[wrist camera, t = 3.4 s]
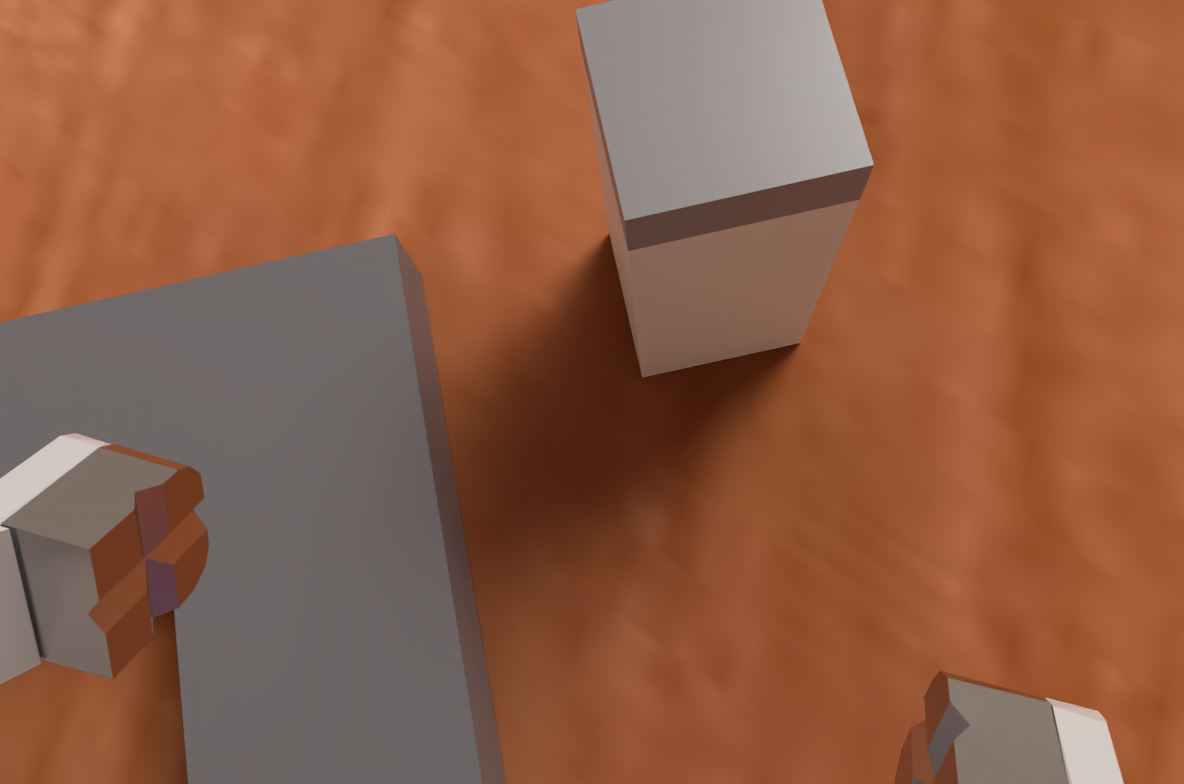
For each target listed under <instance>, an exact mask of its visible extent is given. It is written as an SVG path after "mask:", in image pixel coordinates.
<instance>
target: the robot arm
mask: <svg viewBox="0 0 1184 784" xmlns="http://www.w3.org/2000/svg"><path fill="white" fill-rule="evenodd" d="M203 499H204V492H203V485H202V478H201V474H200V473H199V472H197V471H196V470H195V469H193V468H192V467H190V466H186V465H183V464H180V463H176V462H173V461H170V460H166V459H163V458H160V457H156V456H153V455H150V454H146V453H143V452H140V451H136V450H133V449H130V448H126V447H123V446H120V445H116V444H109V443H106V442H103V441H99V440H96V439H93V438H90V437H86V436H83V435H80V434H77V433H74V434H68V435H62V436H59V437H58V438H56V439H55V440H53V441H52V442H51V443H49V444H48V445H46V446H45V447H44V448H42V449H41V450H40V451H38V452H37V453H35V454H34V455H33V456H31V457H30V458H28V459H27V460H26V461H24V462H23V463H21V464H20V465H19V466H17V467H16V468H14V469H13V470H12V471H10V472H9V473H7V474H6V475H5V476H3V477H2V478H0V684H2V683H4V682H6V681H8V680H10V679H12V678H14V677H16V676H18V675H20V674H22V673H24V672H26V671H28V670H30V669H32V668H34V667H35V666H37V665H39V664H41V659H42V660H45V661H49V662H53V663H56V664H60V665H63V666H67V667H70V668H74V669H78V670H81V671H85V672H88V673H92V674H96V675H99V676H103V677H106V678H110V679H114V678H115V677H116V676H117V675H118V674H119V673H120V672H121V670H122V669H123V668H124V667H125V666H126V665H127V664H128V663H129V662H130V661H131V660H132V658H133V657H134V656H135V655H136V654H137V653H138V652H139V651H140V650H141V649H142V648H143V646H144V645H145V644H146V643H147V642H148V641H149V640H150V639H151V638H152V637H153V618H155V617H157V616H160V615H162V614H165V613H167V612H170V611H172V610H175V609H177V608H179V607H180V606H181V605H182V603H183V602H184V601H185V600H186V599H187V598H188V596H189V595H190V594H191V593H192V592H193V591H194V589H195V587H196V585H197V583H198V581H199V579H200V577H201V575H202V573H203V571H204V568H205V566H206V561H207V555H208V549H209V541H208V529H207V528H206V526H205V525H204V523H203V522H202V521H201V519H200V518H199V517H198V515H197V514H196V512H195V511H194V509H195V508H196V507H197V505H198V504H199V503H200V502H201V501H202V500H203ZM924 699H925V717H926V720H925V721H923V722H920V723H918V724H916V725H914V726H912V727H911V728H910V730H909V733H908V735H907V738H906V740H905V743H904V745H903V748H902V750H901V754H900V758H899V763H898V767H897V771H896V776H895V784H1124V782H1123V778H1122V775H1121V771H1120V768H1119V764H1118V761H1117V757H1116V754H1115V750H1114V747H1113V743H1112V740H1111V736H1110V733H1109V729H1108V726H1107V722H1106V720H1105V719H1104V717H1103V716H1102V715H1101V714H1100V713H1099V712H1098V711H1096V710H1092V709H1088V708H1084V707H1080V706H1076V705H1072V704H1068V703H1064V702H1060V701H1056V700H1053V699H1049V698H1043V699H1042V698H1040V697H1038V696H1034V695H1030V694H1027V693H1023V692H1019V691H1015V690H1012V689H1008V688H1004V687H1000V686H996V685H993V684H989V683H985V682H981V681H978V680H974V679H970V678H966V677H962V676H959V675H955V674H951V673H947V672H943V671H940V672H939V673H938V674H937V675H936V676H935V677H934V678H933V680H932V682H931V684H930V686H929V688H928V690H927V692H926V695H925V697H924Z"/></svg>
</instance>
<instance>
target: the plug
mask: <svg viewBox="0 0 1184 784" xmlns="http://www.w3.org/2000/svg"><path fill="white" fill-rule="evenodd" d="M575 12H576V18H577V25H578V31H579V38H580V45H581V51H582V58H583V64H584V71H585V78H586V84H587V91H588V97H589V104H590V111H591V117H592V124H593V130H594V137H595V144H596V150H597V157H598V163H599V170H600V177H601V183H602V190H603V196H604V203H605V210H606V216H607V223H608V229H609V235H610V239H611V244H612V248H613V253H614V257H615V261H616V266H617V270H618V275H619V279H620V283H621V288H622V292H623V297H624V301H625V305H626V310H627V314H628V318H629V323H630V327H631V332H632V336H633V340H634V345H635V349H636V354H637V358H638V362H639V367H640V371H641V375H642V378H643V377H647V376H652V375H657V374H661V373H666V372H670V371H675V370H679V369H684V368H688V367H693V366H698V365H702V364H707V363H711V362H716V361H720V360H725V359H730V358H734V357H739V356H743V355H748V354H752V353H757V352H762V351H766V350H771V349H775V348H780V347H784V346H789V345H793V344H798V343H801V340H802V338H803V335H804V333H805V331H806V328H807V326H808V323H809V321H810V318H811V316H812V314H813V311H814V309H815V306H816V304H817V302H818V299H819V297H820V294H821V292H822V289H823V287H824V285H825V282H826V280H827V277H828V275H829V272H830V270H831V268H832V265H833V263H834V260H835V258H836V256H837V253H838V251H839V248H840V246H841V243H842V241H843V239H844V236H845V234H846V231H847V229H848V226H849V224H850V222H851V219H852V217H853V214H854V212H855V210H856V207H857V205H858V202H859V200H860V197H861V195H862V193H863V190H864V188H865V185H866V183H867V181H868V178H869V176H870V173H871V171H872V168H873V166H874V164H873V160H872V157H871V154H870V151H869V148H868V145H867V142H866V139H865V135H864V132H863V129H862V126H861V123H860V120H859V117H858V113H857V110H856V107H855V104H854V101H853V98H852V95H851V91H850V88H849V85H848V82H847V79H846V76H845V73H844V69H843V66H842V63H841V60H840V57H839V54H838V51H837V48H836V44H835V41H834V38H833V35H832V32H831V29H830V26H829V22H828V19H827V16H826V13H825V10H824V7H823V4H822V0H614V1H610V2H606V3H601V4H597V5H592V6H588V7H584V8H579V9H575Z"/></svg>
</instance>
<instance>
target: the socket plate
mask: <svg viewBox="0 0 1184 784" xmlns="http://www.w3.org/2000/svg"><path fill="white" fill-rule="evenodd" d="M74 433H77V434H80V435H83V436H86V437H90V438H93V439H96V440H99V441H103V442H106V443H109V444H116V445H120V446H123V447H126V448H130V449H133V450H136V451H140V452H143V453H146V454H150V455H153V456H156V457H160V458H163V459H166V460H170V461H173V462H176V463H180V464H183V465H186V466H190V467H192V468H193V469H195V470H196V471H197V472H199V473H200V474H201V478H202V485H203V492H204V499H203V500H202V501H201V502H200V503H199V504H198V505H197V507H196V508H195V509H194V511H195V512H196V514H197V515H198V517H199V518H200V519H201V521H202V522H203V523H204V525H205V526H206V528H207V529H208V541H209V549H208V555H207V561H206V566H205V568H204V571H203V573H202V575H201V577H200V579H199V581H198V583H197V585H196V587H195V589H194V591H193V592H192V593H191V594H190V595H189V596H188V598H187V599H186V600H185V601H184V602H183V603H182V605H181V606H180V607H179V608H177V609H175V610H174V616H175V629H176V641H177V653H178V666H179V678H180V691H181V703H182V715H183V728H184V740H185V753H186V765H187V777H188V784H506V781H505V775H504V769H503V763H502V757H501V751H500V745H499V739H498V733H497V727H496V721H495V715H494V709H493V703H492V697H491V691H490V685H489V679H488V673H487V667H486V661H485V655H484V649H483V643H482V637H481V631H480V625H479V619H478V613H477V607H476V601H475V595H474V589H473V583H472V576H471V570H470V564H469V558H468V552H467V546H466V540H465V534H464V528H463V522H462V516H461V510H460V504H459V498H458V492H457V486H456V480H455V474H454V468H453V462H452V456H451V450H450V444H449V438H448V432H447V426H446V420H445V414H444V408H443V402H442V396H441V390H440V384H439V378H438V372H437V366H436V360H435V354H434V348H433V342H432V336H431V330H430V324H429V318H428V312H427V306H426V300H425V294H424V288H423V282H422V276H421V273H420V272H419V270H418V269H417V267H416V266H415V264H414V263H413V261H412V260H411V258H410V257H409V255H408V254H407V252H406V251H405V249H404V248H403V246H402V245H401V243H400V242H399V240H398V239H397V237H396V236H395V234H393V235H388V236H384V237H379V238H375V239H370V240H366V241H362V242H357V243H353V244H348V245H344V246H339V247H335V248H330V249H326V250H321V251H317V252H313V253H308V254H304V255H299V256H295V257H290V258H286V259H281V260H277V261H272V262H268V263H264V264H259V265H255V266H250V267H246V268H241V269H237V270H232V271H228V272H223V273H219V274H214V275H210V276H206V277H201V278H197V279H192V280H188V281H183V282H179V283H174V284H170V285H165V286H161V287H157V288H152V289H148V290H143V291H139V292H134V293H130V294H125V295H121V296H116V297H112V298H108V299H103V300H99V301H94V302H90V303H85V304H81V305H76V306H72V307H67V308H63V309H58V310H54V311H50V312H45V313H41V314H36V315H32V316H27V317H23V318H18V319H14V320H9V321H5V322H1V323H0V478H2V477H3V476H5V475H6V474H7V473H9V472H10V471H12V470H13V469H14V468H16V467H17V466H19V465H20V464H21V463H23V462H24V461H26V460H27V459H28V458H30V457H31V456H33V455H34V454H35V453H37V452H38V451H40V450H41V449H42V448H44V447H45V446H46V445H48V444H49V443H51V442H52V441H53V440H55V439H56V438H58V437H59V436H62V435H68V434H74Z"/></svg>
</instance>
